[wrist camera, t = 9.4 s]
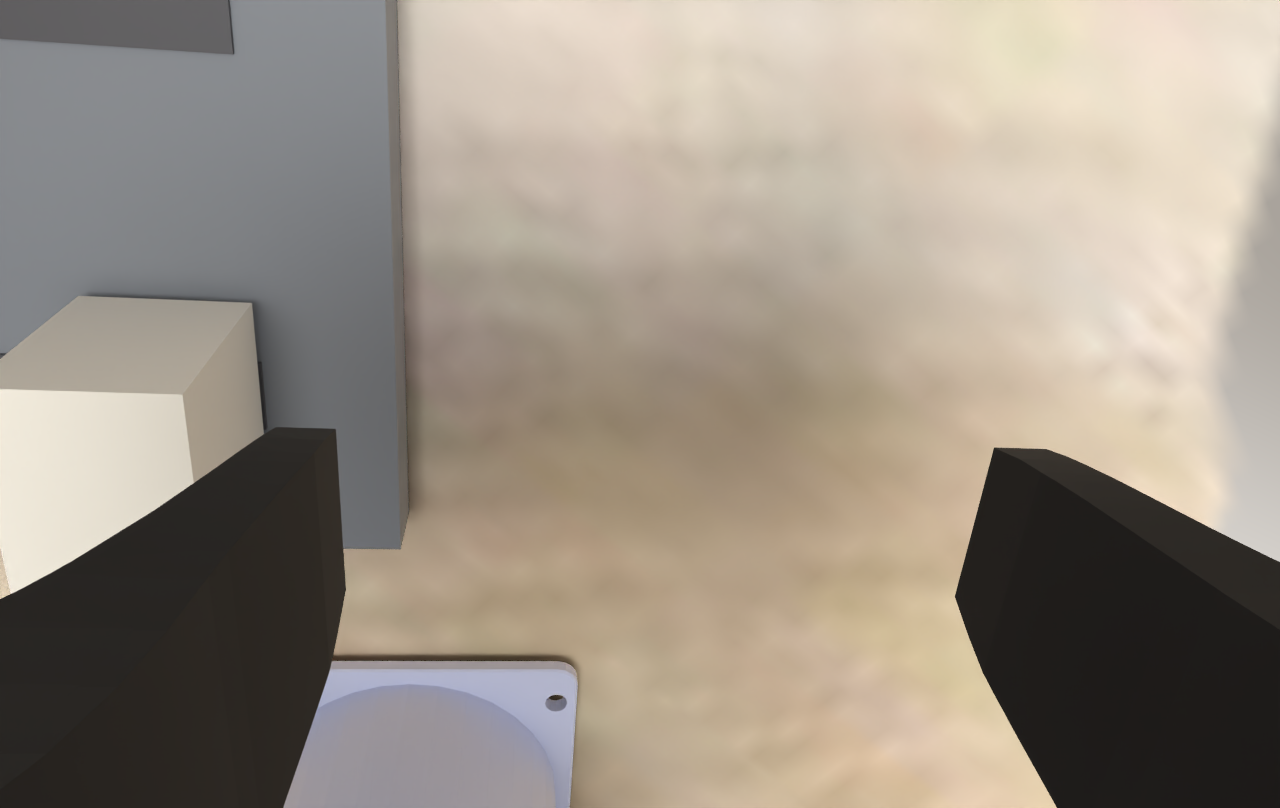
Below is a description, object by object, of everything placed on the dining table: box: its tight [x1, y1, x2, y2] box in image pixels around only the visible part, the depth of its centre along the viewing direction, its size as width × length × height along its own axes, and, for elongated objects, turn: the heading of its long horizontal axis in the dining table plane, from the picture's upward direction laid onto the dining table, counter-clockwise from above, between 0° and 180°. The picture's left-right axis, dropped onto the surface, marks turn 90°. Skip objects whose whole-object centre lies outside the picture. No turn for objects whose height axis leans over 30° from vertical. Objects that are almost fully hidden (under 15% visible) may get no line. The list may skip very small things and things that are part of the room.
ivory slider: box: [0, 296, 264, 594], centre depth 17 cm, size 4×3×4 cm
